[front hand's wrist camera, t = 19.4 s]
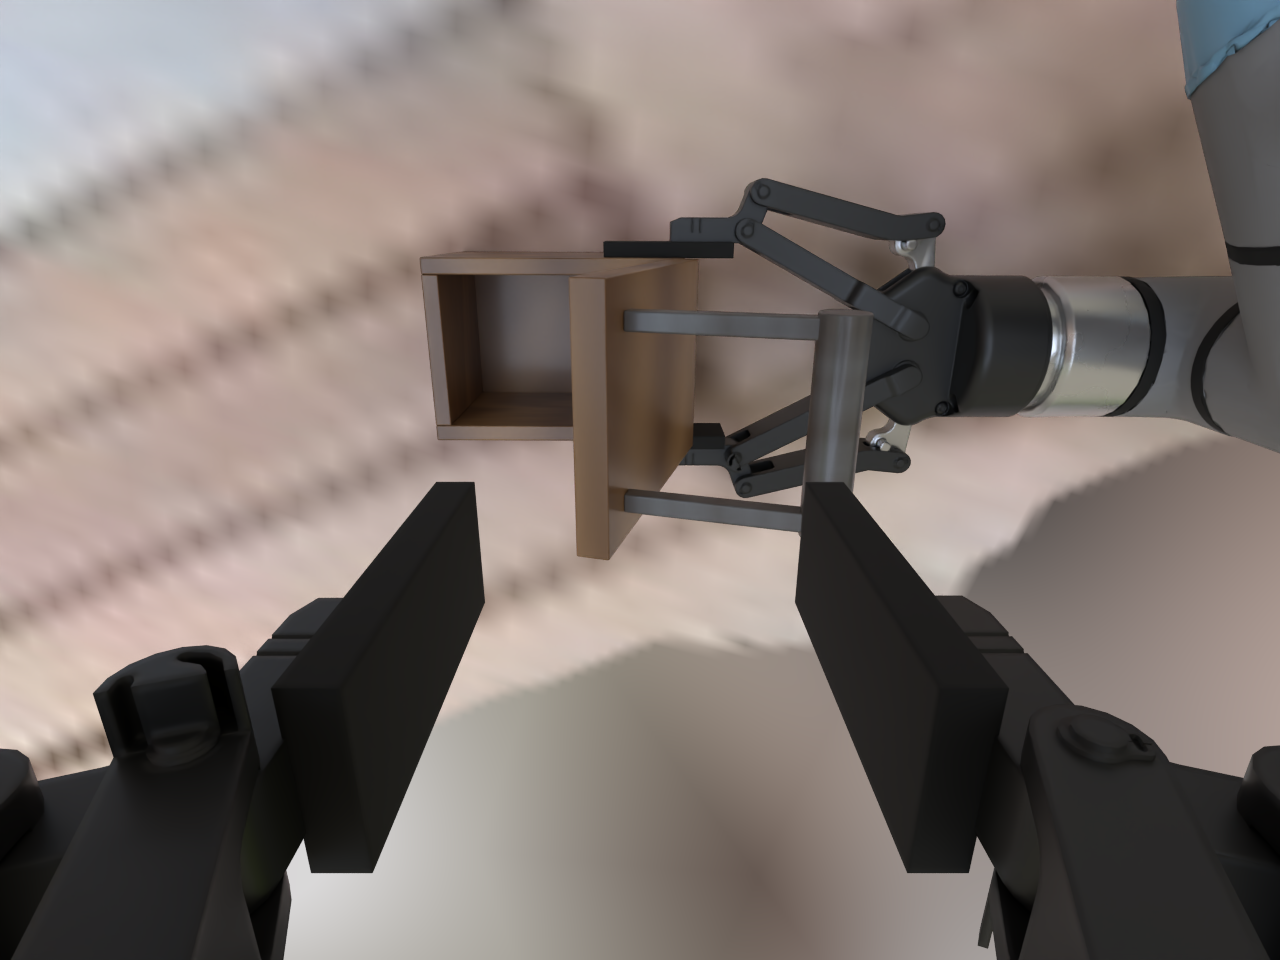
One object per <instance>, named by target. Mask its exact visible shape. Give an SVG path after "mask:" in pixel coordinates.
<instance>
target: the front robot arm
mask: <svg viewBox="0 0 1280 960" xmlns="http://www.w3.org/2000/svg"><path fill="white" fill-rule="evenodd" d="M484 603H485V597H484V586H483V575H482V563H481V552H480V540H479V529H478V517H477V506H476V495H475V483H474V482H436V483H435V484H434V486H433V487H432V488H431V489H430V491H429V492H428V493H427V494H426V496H425V497H424V498H423V499H422V500H421V502H420V503H419V504H418V505H417V507H416V508H415V509H414V510H413V512H412V513H411V514H410V515H409V517H408V518H407V519H406V520H405V522H404V523H403V524H402V525H401V527H400V528H399V529H398V530H397V532H396V533H395V534H394V535H393V537H392V538H391V539H390V540H389V542H388V543H387V544H386V545H385V547H384V548H383V549H382V550H381V552H380V553H379V554H378V555H377V557H376V558H375V559H374V560H373V562H372V563H371V564H370V565H369V566H368V568H367V569H366V570H365V571H364V573H363V574H362V575H361V576H360V578H359V579H358V580H357V581H356V583H355V584H354V585H353V586H352V588H351V589H350V590H349V591H348V593H347V594H346V595H345V596H344V598H317V599H316V600H314V601H312V602H311V603H309V604H307V605H306V606H304V607H302V608H301V609H299V610H298V611H296V612H294V613H293V614H291V615H290V616H289V617H288V618H287V619H286V620H285V621H284V622H283V623H282V624H281V626H280V627H279V628H278V629H277V630H276V631H275V632H274V633H273V634H272V639H268V640H267V641H266V642H265V643H264V644H263V645H262V647H261V648H260V649H259V650H258V651H257V656H252V658H251V659H250V660H249V661H248V662H247V663H246V664H245V665H244V666H243V668H242V669H241V670H240V671H239V668H238V664H237V659H236V656H235V655H233V654H232V653H231V652H229V651H228V650H227V649H225V648H219V647H214V646H208V645H204V646H191V647H181V648H177V649H173V650H169V651H165V652H161V653H157V654H154V655H151V656H149V657H147V658H144V659H142V660H139V661H137V662H134V663H132V664H130V665H128V666H126V667H125V668H123V669H122V670H120V671H118V672H117V673H115V674H113V675H112V676H110V677H109V678H107V679H106V680H105V681H104V682H103V683H102V684H101V685H100V687H99V688H98V689H97V690H96V691H95V692H94V693H93V696H94V699H95V702H96V705H97V708H98V711H99V714H100V717H101V720H102V723H103V726H104V729H105V732H106V735H107V738H108V742H109V745H110V748H111V751H112V754H113V757H114V758H113V760H112V762H111V764H110V766H106V767H102V768H97V769H93V770H88V771H83V772H78V773H74V774H69V775H64V776H59V777H55V778H50V779H45V780H40V781H37V778H36V776H35V773H34V771H33V768H32V765H31V763H30V760H29V758H28V757H27V756H25V755H24V754H22V753H21V752H19V751H18V750H11V749H0V960H283V958H284V951H285V944H286V936H287V929H288V921H289V914H290V907H291V892H290V884H289V880H288V876H287V872H286V869H287V867H288V866H289V864H290V862H291V860H292V858H293V857H294V855H295V853H296V851H297V849H298V848H299V846H300V844H301V842H302V840H303V839H304V842H305V847H306V852H307V856H308V861H309V865H310V870H311V873H373V871H374V868H375V866H376V864H377V861H378V859H379V856H380V854H381V852H382V849H383V847H384V844H385V842H386V840H387V837H388V835H389V832H390V830H391V827H392V825H393V823H394V820H395V818H396V815H397V813H398V811H399V808H400V806H401V803H402V801H403V798H404V796H405V794H406V791H407V789H408V786H409V784H410V782H411V779H412V777H413V774H414V772H415V770H416V767H417V765H418V762H419V760H420V758H421V755H422V753H423V750H424V748H425V745H426V743H427V741H428V738H429V736H430V733H431V731H432V729H433V726H434V724H435V721H436V719H437V717H438V714H439V712H440V709H441V707H442V705H443V702H444V700H445V697H446V695H447V692H448V690H449V688H450V685H451V683H452V680H453V678H454V676H455V673H456V671H457V668H458V666H459V664H460V661H461V659H462V656H463V654H464V651H465V649H466V647H467V644H468V642H469V639H470V637H471V635H472V632H473V630H474V627H475V625H476V623H477V620H478V618H479V615H480V613H481V611H482V608H483V606H484ZM795 603H796V606H797V608H798V611H799V613H800V615H801V618H802V620H803V623H804V625H805V627H806V630H807V632H808V635H809V637H810V639H811V642H812V644H813V647H814V649H815V652H816V654H817V656H818V659H819V661H820V664H821V666H822V668H823V671H824V673H825V676H826V678H827V680H828V683H829V685H830V688H831V690H832V692H833V695H834V697H835V700H836V702H837V704H838V707H839V709H840V712H841V714H842V717H843V719H844V721H845V724H846V726H847V729H848V731H849V733H850V736H851V738H852V741H853V743H854V746H855V748H856V750H857V753H858V755H859V758H860V760H861V762H862V765H863V767H864V770H865V772H866V774H867V777H868V779H869V782H870V784H871V786H872V789H873V791H874V794H875V796H876V798H877V801H878V803H879V806H880V808H881V811H882V813H883V815H884V818H885V820H886V823H887V825H888V827H889V830H890V832H891V835H892V837H893V840H894V842H895V844H896V847H897V849H898V852H899V854H900V856H901V859H902V861H903V864H904V866H905V868H906V871H907V873H969V869H970V865H971V860H972V856H973V851H974V847H975V842H976V838H977V837H978V839H979V840H980V842H981V844H982V846H983V848H984V849H985V851H986V853H987V855H988V857H989V858H990V860H991V862H992V864H993V866H994V872H993V876H992V880H991V884H990V889H989V893H988V897H987V901H986V906H985V910H984V914H983V918H982V923H981V927H980V933H979V940H978V946H981V947H984V948H988V946H989V942H990V938H991V934H992V932H993V935H994V942H995V949H996V956H997V960H1280V746H1267V747H1263V748H1261V749H1260V750H1259V751H1257V752H1256V753H1254V754H1253V755H1252V757H1251V760H1250V763H1249V765H1248V768H1247V771H1246V773H1245V776H1244V778H1241V777H1236V776H1231V775H1227V774H1222V773H1217V772H1212V771H1208V770H1203V769H1198V768H1193V767H1188V766H1184V765H1179V764H1175V763H1171V762H1169V760H1168V759H1167V757H1166V755H1165V754H1164V753H1163V752H1162V750H1161V749H1160V748H1159V747H1158V745H1157V744H1156V743H1155V742H1154V740H1152V739H1151V738H1150V737H1148V736H1147V735H1146V734H1144V733H1143V732H1141V731H1140V730H1139V729H1137V728H1136V727H1135V726H1133V725H1132V724H1129V723H1127V722H1125V721H1123V720H1121V719H1119V718H1117V717H1115V716H1113V715H1110V714H1108V713H1106V712H1102V711H1098V710H1095V709H1091V708H1088V707H1084V706H1078V705H1074V704H1073V703H1072V702H1071V701H1070V699H1069V698H1068V697H1067V696H1066V695H1065V694H1064V693H1063V692H1062V691H1061V690H1060V688H1059V687H1058V686H1057V685H1056V684H1055V683H1054V682H1053V681H1052V680H1051V679H1050V677H1049V676H1048V675H1047V674H1046V673H1045V672H1044V671H1043V670H1042V669H1041V668H1040V666H1039V665H1038V664H1037V663H1036V662H1035V661H1034V660H1033V659H1032V658H1031V657H1030V655H1029V654H1028V653H1024V649H1023V648H1022V647H1021V646H1020V645H1019V643H1018V642H1017V641H1016V640H1015V639H1014V638H1013V637H1012V636H1009V635H1008V631H1007V630H1006V629H1005V628H1004V627H1003V626H1002V625H1001V624H1000V623H999V621H998V620H997V619H996V618H995V617H994V616H993V615H992V614H991V613H990V612H989V611H987V610H985V609H984V608H982V607H980V606H978V605H977V604H975V603H973V602H972V601H970V600H968V599H967V598H965V597H963V596H935V595H934V594H933V593H932V591H931V590H930V589H929V588H928V586H927V585H926V584H925V583H924V581H923V580H922V579H921V578H920V576H919V575H918V574H917V573H916V571H915V570H914V569H913V568H912V567H911V565H910V564H909V563H908V562H907V560H906V559H905V558H904V557H903V555H902V554H901V553H900V552H899V550H898V549H897V548H896V547H895V545H894V544H893V543H892V542H891V540H890V539H889V538H888V537H887V535H886V534H885V533H884V532H883V530H882V529H881V528H880V527H879V525H878V524H877V523H876V522H875V520H874V519H873V518H872V517H871V515H870V514H869V513H868V512H867V510H866V509H865V508H864V507H863V505H862V504H861V503H860V502H859V501H858V499H857V498H856V497H855V496H854V494H853V493H852V492H851V491H850V489H849V488H848V487H847V486H846V484H845V483H844V482H806V483H805V495H804V506H803V517H802V529H801V540H800V552H799V563H798V574H797V586H796V597H795Z"/></svg>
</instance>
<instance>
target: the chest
mask: <svg viewBox="0 0 1280 960" xmlns="http://www.w3.org/2000/svg"><path fill="white" fill-rule="evenodd" d="M671 259H685V258H643V257H604V252H456V253H449V254H441V255H434V256H426V257H421V258H420V267H421V274H423V275H421V278H422V288H423V298H424V308H425V318H426V328H427V338H428V348H429V358H430V368H431V378H432V387H433V397H434V407H435V417H436V425H437V437H438V440H561V441H573V409H572V375H571V342H570V308H569V277H571V276H577V275H583V274H589V273H595V272H601V271H606V270H612V269H618V268H624V267H630V266H636V265H642V264H648V263H654V262H660V261H666V260H671Z"/></svg>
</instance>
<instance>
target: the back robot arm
mask: <svg viewBox="0 0 1280 960" xmlns="http://www.w3.org/2000/svg"><path fill="white" fill-rule="evenodd" d="M1176 7H1177V14H1178V21H1179V29H1180V37H1181V45H1182V53H1183V61H1184V70H1185V78H1186V85H1185V92H1186V95H1187V98H1188V99H1190V100H1191V102H1192V107H1193V111H1194V115H1195V119H1196V123H1197V127H1198V131H1199V135H1200V139H1201V144H1202V148H1203V152H1204V156H1205V160H1206V164H1207V168H1208V172H1209V177H1210V181H1211V185H1212V189H1213V193H1214V197H1215V201H1216V205H1217V210H1218V214H1219V218H1220V222H1221V226H1222V230H1223V234H1224V238H1225V244H1226V248H1227V252H1228V253H1227V254H1228V258H1229V263H1230V268H1231V272H1232V276H1190V277H1144V278H1132V277H1119V276H1037V277H1035V278H1033V279H1029V278H1027V277H1025V276H958V275H948V274H945V273H944V272H942V271H940V270H939V269H937V268H935V267H934V263H935V240H936V237H937V236H939V235H940V234H941V233H942V232H943V230H944V228H945V219H944V217H943V216H942V215H941V214H939V213H935V212H931V213H914V214H905V215H894V214H891V213H887V212H884V211H880V210H877V209H873V208H870V207H866V206H863V205H859V204H855V203H852V202H848V201H845V200H841V199H838V198H834V197H831V196H827V195H824V194H820V193H816V192H813V191H809V190H806V189H802V188H799V187H795V186H792V185H788V184H785V183H781V182H777V181H774V180H770V179H766V178H762V179H759V180H756V181H754V182H752V183H750V184H749V185H748V186H747V187H746V189H745V191H744V196H743V199H742V202H741V204H740V207H739V209H738V211H737V212H736V213H735V214H734V215H733V216H731V217H728V218H678V219H676V220H674V221H671V222H670V241H605V242H603V243H604V257H643V258H733V254H734V243H739V244H741V245H743V246H745V247H746V248H748V249H750V250H751V251H753V252H755V253H757V254H758V255H760V256H762V257H764V258H765V259H767V260H769V261H771V262H772V263H774V264H776V265H777V266H779V267H781V268H783V269H784V270H786V271H788V272H790V273H791V274H793V275H795V276H797V277H798V278H800V279H802V280H803V281H805V282H807V283H809V284H810V285H812V286H814V287H816V288H817V289H819V290H821V291H823V292H824V293H826V294H828V295H830V296H831V297H833V298H834V299H836V300H837V301H839V302H841V303H842V304H844V305H846V306H848V307H849V308H851V309H853V310H861V311H868V312H871V313H873V314H874V317H873V326H872V334H871V343H870V351H869V360H868V368H867V377H866V385H865V393H864V402H863V410H862V412H863V411H865V410H867V409H869V408H871V407H873V406H874V407H875V408H877V409H878V410H879V411H881V412H882V413H883V414H884V415H886V416H887V417H888V418H889V420H888V423H887V424H886V425H885V426H884V427H882V428H880V429H874V430H872V431H870V432H869V433H868V434H867V436H866V438H859V444H858V453H857V461H856V470H855V473H858V472H862V471H867V470H872V471H882V472H892V473H902V472H904V471H906V470H907V469H908V468H909V466H910V464H911V460H910V457H909V456H908V455H907V454H906V453H905V450H906V446H907V442H908V438H909V434H910V430H911V426H912V425H914V424H917V423H919V422H921V421H923V420H925V419H928V418H931V417H1009V416H1013V415H1015V414H1018V415H1020V416H1022V417H1094V416H1103V417H1114V416H1123V417H1163V418H1174V419H1180V420H1185V421H1188V422H1191V423H1194V424H1197V425H1200V426H1202V427H1205V428H1208V429H1211V430H1214V431H1216V432H1219V433H1222V434H1225V435H1228V436H1233V437H1236V438H1239V439H1242V440H1245V441H1247V442H1250V443H1253V444H1256V445H1258V446H1261V447H1264V448H1267V449H1269V450H1272V451H1275V452H1278V453H1280V0H1176ZM767 210H769V211H772V212H776V213H779V214H783V215H787V216H790V217H794V218H797V219H801V220H805V221H808V222H812V223H815V224H819V225H823V226H826V227H830V228H833V229H837V230H841V231H844V232H848V233H851V234H855V235H859V236H862V237H866V238H870V239H875V240H889V249H890V251H891V252H892V253H893V254H894V255H897V256H902V257H904V258H905V259H906V260H907V261H908V264H909V268H908V269H906V270H905V271H904V272H902V273H901V274H899V275H898V276H896V277H895V278H893V279H892V280H890V281H889V282H887V283H886V284H885V285H883V286H882V287H880V288H879V289H877V290H876V289H874V288H872V287H870V286H869V285H867V284H865V283H863V282H861V281H859V280H857V279H855V278H853V277H852V276H850V275H848V274H847V273H845V272H843V271H841V270H840V269H838V268H836V267H835V266H833V265H831V264H829V263H828V262H826V261H824V260H823V259H821V258H819V257H817V256H816V255H814V254H812V253H811V252H809V251H807V250H806V249H804V248H802V247H800V246H799V245H797V244H795V243H794V242H792V241H790V240H788V239H787V238H785V237H783V236H782V235H780V234H778V233H777V232H775V231H773V230H771V229H770V228H768V227H766V226H765V225H763V224H762V222H763V220H764V217H765V215H766V212H767ZM810 396H811V395H809V396H807V397H805V398H803V399H801V400H799V401H797V402H795V403H793V404H791V405H789V406H787V407H785V408H783V409H781V410H779V411H777V412H775V413H773V414H771V415H769V416H767V417H765V418H763V419H761V420H759V421H757V422H755V423H753V424H751V425H749V426H747V427H745V428H743V429H741V430H739V431H737V432H735V433H733V434H731V435H729V436H727V437H725V435H724V432H723V430H722V427H721V425H720V423H693V446H692V447H691V448H690V450H689V451H688V453H687V454H686V455H685V457H684V458H683V459H682V461H681V462H680V464H679V465H719V466H722V467H724V468H726V469H727V470H728V472H729V474H730V477H731V480H732V483H733V485H734V488H735V491H736V493H737V494H738V495H739V496H740V497H743V498H749V497H753V496H758V495H762V494H766V493H771V492H775V491H779V490H784V489H788V488H792V487H797V486H801V485H802V484H803V473H804V462H805V451H806V449H803V450H799V451H795V452H790V453H786V454H782V455H778V456H773V457H769V458H765V459H761V460H756V459H758V458H760V457H762V456H764V455H766V454H769V453H771V452H773V451H775V450H777V449H779V448H781V447H783V446H785V445H787V444H789V443H791V442H793V441H795V440H797V439H799V438H801V437H804V436H806V435H807V429H808V418H809V407H810ZM754 460H756V461H754Z"/></svg>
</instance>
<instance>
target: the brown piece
mask: <svg viewBox="0 0 1280 960" xmlns="http://www.w3.org/2000/svg"><path fill="white" fill-rule="evenodd" d="M698 265H699V260H698V259H671V260H666V261H660V262H654V263H648V264H642V265H636V266H630V267H624V268H618V269H612V270H606V271H601V272H595V273H589V274H583V275H577V276H571V277H569V308H570V342H571V375H572V409H573V442H574V475H575V509H576V542H577V556H580V557H587V558H595V559H602V560H609V559H610V558H611V557H612V555H613V554H614V553H615V551H616V550H617V549H618V547H619V546H620V544H621V543H622V542H623V540H624V539H625V538H626V536H627V535H628V533H629V532H630V531H631V529H632V528H633V527H634V525H635V524H636V522H637V521H638V520H639V518H640V517H641V516H642V514H645V515H654V516H662V517H671V518H680V519H688V520H697V521H706V522H714V523H723V524H731V525H740V526H749V527H757V528H766V529H775V530H783V531H792V532H798V533H799V536H800V537H801V529H802V517H803V506H804V495H805V483H806V482H844V483H845V484H846V486H847V487H848V488H849V489H850V491H851V492H852V493H853V487H854V478H855V470H856V461H857V453H858V444H859V436H860V427H861V419H862V410H863V402H864V393H865V385H866V377H867V368H868V360H869V351H870V343H871V334H872V326H873V317H874V314H873V313H871V312H868V311H861V310H847V309H830V310H821V311H819V312H818V315H800V314H772V313H744V312H717V311H697V296H698ZM696 335H704V336H727V337H749V338H771V339H793V340H815V352H814V363H813V374H812V385H811V396H810V407H809V418H808V429H807V440H806V451H805V462H804V473H803V484H802V495H801V506H800V507H798V506H789V505H779V504H770V503H761V502H751V501H742V500H732V499H723V498H714V497H704V496H695V495H685V494H676V493H666V492H659V491H660V490H661V488H662V487H663V485H664V484H665V483H666V481H667V480H668V479H669V477H670V476H671V475H672V473H673V472H674V470H675V469H676V468H677V466H678V465H679V464H680V462H681V461H682V459H683V458H684V457H685V455H686V454H687V453H688V451H689V450H690V448H691V447H692V446H693V421H694V390H695V358H696Z"/></svg>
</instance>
